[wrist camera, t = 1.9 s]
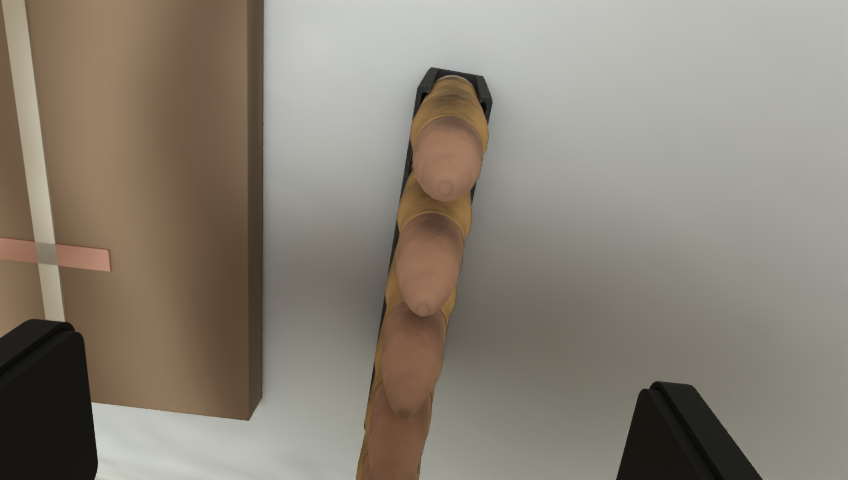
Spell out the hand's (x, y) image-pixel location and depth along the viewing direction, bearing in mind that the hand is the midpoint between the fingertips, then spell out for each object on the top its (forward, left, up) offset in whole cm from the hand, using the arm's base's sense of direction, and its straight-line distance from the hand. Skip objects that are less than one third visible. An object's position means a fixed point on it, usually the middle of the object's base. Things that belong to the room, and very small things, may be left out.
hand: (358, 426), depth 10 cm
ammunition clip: (-1, 0, -12) cm, 11 cm away
